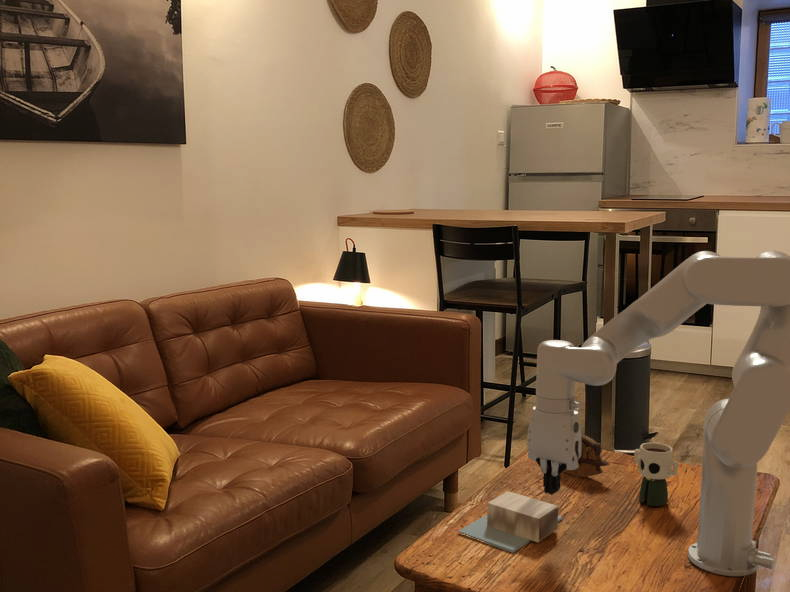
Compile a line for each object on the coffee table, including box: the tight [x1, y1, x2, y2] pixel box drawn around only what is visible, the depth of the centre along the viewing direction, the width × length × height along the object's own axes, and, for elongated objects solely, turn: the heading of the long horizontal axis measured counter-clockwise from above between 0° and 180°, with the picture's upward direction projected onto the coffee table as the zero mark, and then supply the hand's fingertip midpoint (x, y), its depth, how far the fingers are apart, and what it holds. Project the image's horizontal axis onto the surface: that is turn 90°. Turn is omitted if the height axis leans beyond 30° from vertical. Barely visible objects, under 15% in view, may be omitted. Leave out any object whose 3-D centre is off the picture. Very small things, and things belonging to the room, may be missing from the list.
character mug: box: [633, 442, 679, 507], centre depth 182 cm, size 11×7×13 cm, turn 38°
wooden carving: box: [552, 434, 611, 478], centre depth 199 cm, size 16×5×10 cm, turn 53°
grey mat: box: [457, 514, 563, 554], centre depth 171 cm, size 13×20×1 cm, turn 141°
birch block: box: [486, 490, 559, 543], centre depth 169 cm, size 5×8×12 cm
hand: (551, 491), depth 164 cm, fingers closed
